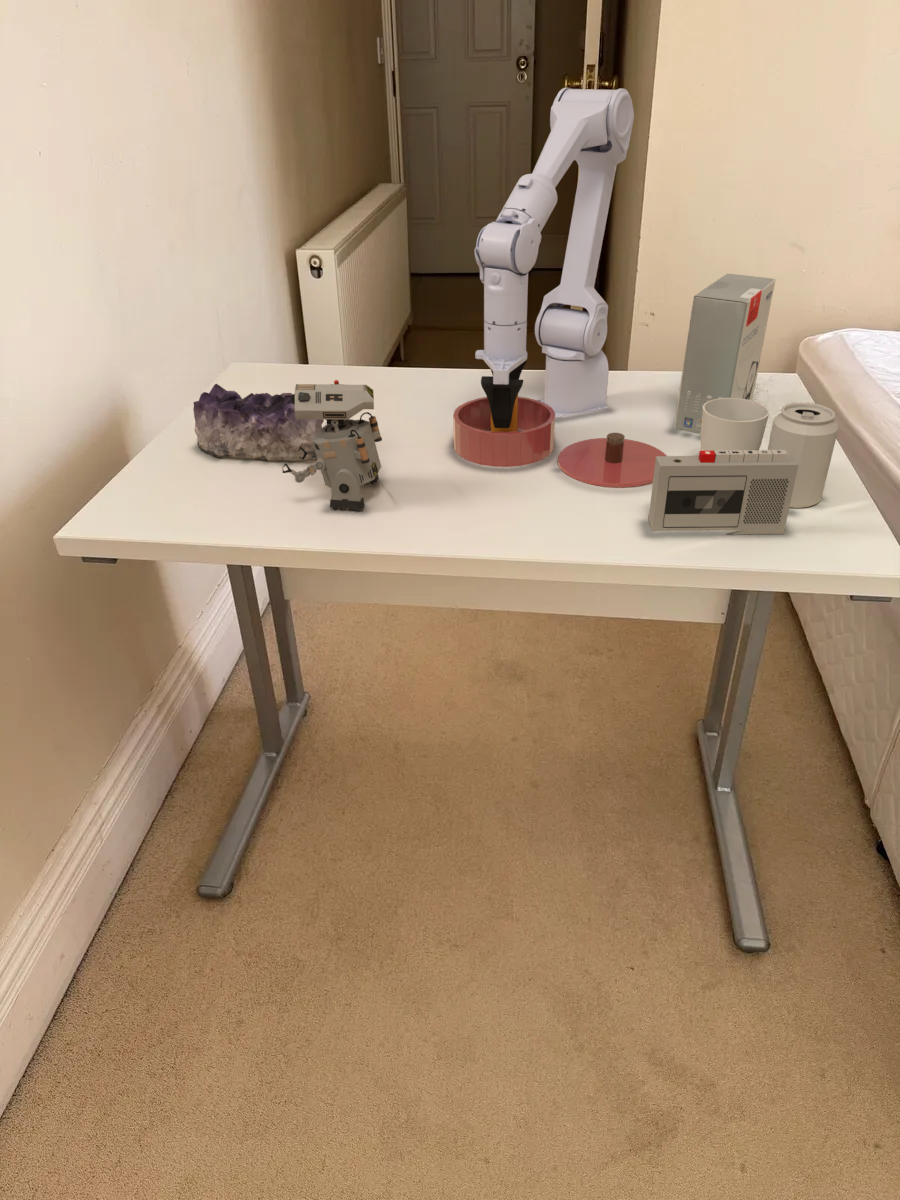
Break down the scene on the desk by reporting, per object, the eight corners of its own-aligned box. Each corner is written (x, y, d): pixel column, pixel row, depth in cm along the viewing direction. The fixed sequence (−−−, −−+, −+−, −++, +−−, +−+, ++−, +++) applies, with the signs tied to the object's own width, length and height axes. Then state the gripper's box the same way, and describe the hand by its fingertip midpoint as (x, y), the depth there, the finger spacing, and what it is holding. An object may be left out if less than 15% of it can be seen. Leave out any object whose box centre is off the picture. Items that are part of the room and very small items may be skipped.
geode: (182, 467, 122) (169, 396, 118) (211, 444, 133) (200, 379, 128) (321, 465, 120) (313, 393, 116) (339, 442, 130) (333, 375, 126)
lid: (629, 437, 127) (632, 408, 125) (691, 478, 116) (696, 446, 113) (538, 456, 123) (539, 425, 120) (593, 500, 111) (596, 467, 108)
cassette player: (651, 534, 103) (661, 458, 98) (647, 523, 106) (656, 448, 100) (783, 533, 103) (800, 456, 97) (776, 523, 105) (793, 446, 99)
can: (819, 490, 112) (841, 402, 105) (820, 516, 106) (843, 424, 99) (759, 483, 114) (776, 396, 107) (757, 508, 108) (774, 418, 102)
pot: (525, 423, 133) (526, 389, 130) (571, 458, 122) (573, 422, 119) (439, 439, 128) (438, 405, 125) (479, 478, 117) (478, 441, 114)
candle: (509, 439, 127) (510, 387, 122) (521, 449, 124) (522, 395, 120) (486, 444, 126) (486, 391, 121) (497, 453, 123) (498, 400, 118)
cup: (759, 473, 117) (773, 402, 111) (750, 498, 110) (764, 425, 105) (699, 463, 119) (709, 394, 114) (686, 488, 113) (697, 416, 108)
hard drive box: (723, 442, 125) (746, 302, 114) (672, 432, 129) (690, 295, 118) (752, 407, 136) (776, 276, 125) (705, 399, 140) (724, 271, 129)
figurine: (308, 477, 118) (295, 371, 110) (389, 482, 117) (382, 374, 108) (287, 508, 111) (271, 396, 103) (373, 513, 109) (364, 400, 101)
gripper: (480, 304, 121) (480, 397, 129) (469, 335, 109) (470, 435, 117) (530, 305, 120) (528, 398, 128) (525, 336, 108) (522, 437, 116)
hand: (503, 416), depth 122 cm, fingers open, 7 cm apart
